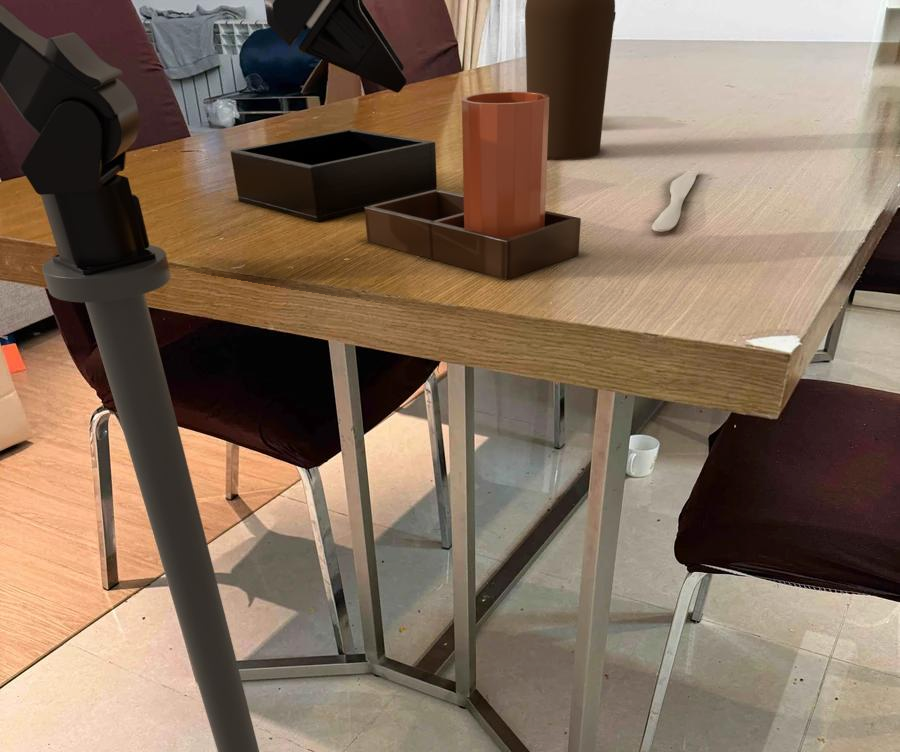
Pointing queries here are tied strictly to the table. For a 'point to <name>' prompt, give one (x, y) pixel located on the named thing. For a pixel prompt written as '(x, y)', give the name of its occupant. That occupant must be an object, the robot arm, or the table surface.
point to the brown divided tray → (468, 235)
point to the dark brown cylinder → (570, 69)
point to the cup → (505, 162)
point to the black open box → (333, 172)
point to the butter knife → (675, 201)
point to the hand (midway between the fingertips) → (401, 79)
